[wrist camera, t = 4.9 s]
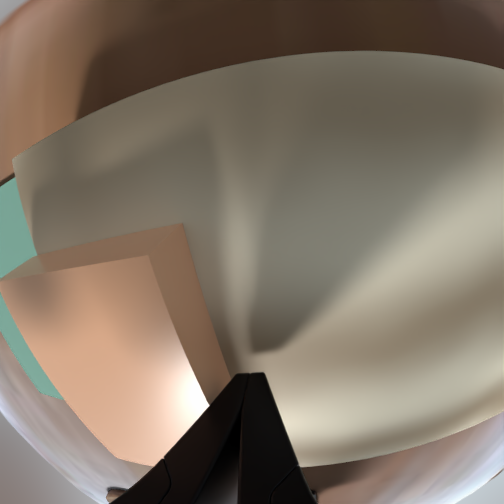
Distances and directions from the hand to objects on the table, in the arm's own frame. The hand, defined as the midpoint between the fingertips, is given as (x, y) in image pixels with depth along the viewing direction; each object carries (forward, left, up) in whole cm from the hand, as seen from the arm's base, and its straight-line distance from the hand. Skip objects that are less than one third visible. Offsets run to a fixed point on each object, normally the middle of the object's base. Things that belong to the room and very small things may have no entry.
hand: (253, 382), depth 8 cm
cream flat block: (0, -3, -4) cm, 5 cm away
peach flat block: (0, +4, -1) cm, 4 cm away
